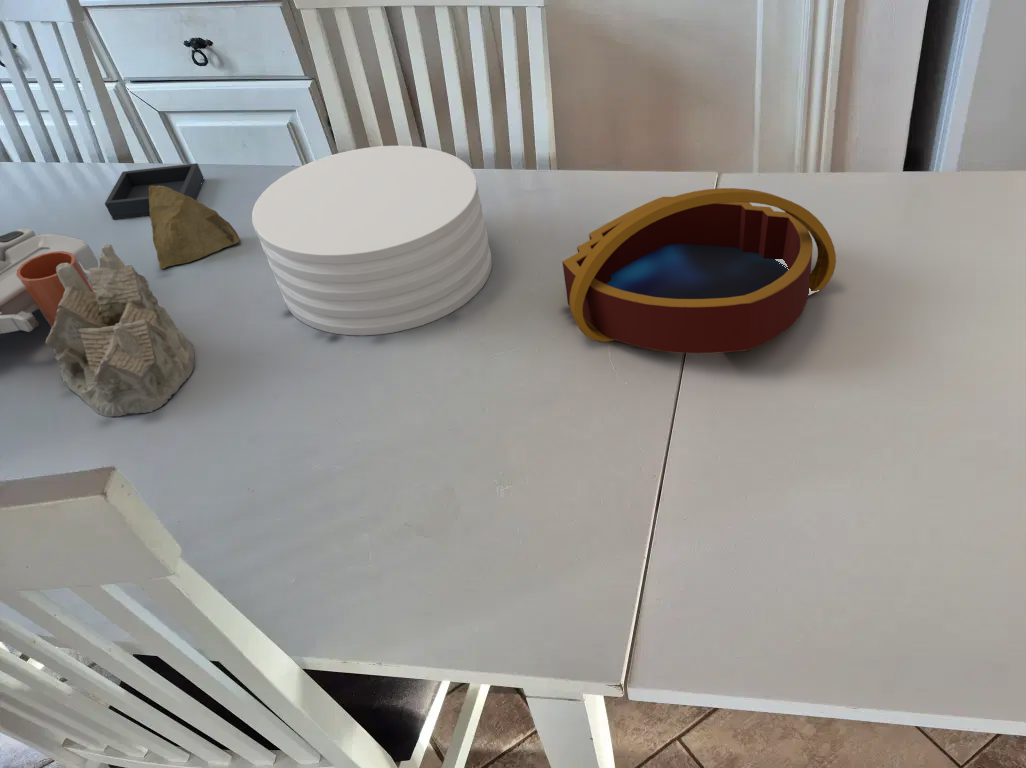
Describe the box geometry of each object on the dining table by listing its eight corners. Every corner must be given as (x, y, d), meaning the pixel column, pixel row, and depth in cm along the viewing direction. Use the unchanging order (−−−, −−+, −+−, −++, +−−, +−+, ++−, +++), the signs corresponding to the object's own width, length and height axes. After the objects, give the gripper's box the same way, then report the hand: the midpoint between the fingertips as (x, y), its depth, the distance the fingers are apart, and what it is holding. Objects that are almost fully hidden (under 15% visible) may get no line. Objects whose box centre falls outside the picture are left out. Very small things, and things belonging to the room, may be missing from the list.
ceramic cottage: (88, 335, 107) (22, 233, 95) (217, 336, 107) (165, 233, 95) (30, 424, 97) (-52, 321, 85) (172, 424, 97) (109, 322, 85)
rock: (247, 212, 123) (177, 206, 123) (222, 186, 115) (147, 179, 114) (238, 283, 122) (167, 277, 121) (213, 262, 113) (137, 255, 113)
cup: (53, 350, 105) (6, 282, 98) (74, 320, 110) (31, 252, 103) (104, 347, 105) (60, 278, 98) (123, 317, 110) (83, 249, 103)
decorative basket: (790, 246, 119) (792, 137, 110) (882, 338, 97) (895, 211, 87) (556, 289, 115) (538, 180, 106) (596, 397, 92) (577, 269, 83)
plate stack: (472, 206, 126) (457, 131, 118) (510, 307, 108) (495, 226, 99) (281, 243, 121) (251, 167, 113) (286, 356, 103) (251, 274, 94)
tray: (113, 219, 128) (104, 203, 126) (130, 187, 135) (122, 171, 133) (191, 210, 129) (183, 194, 127) (204, 179, 136) (197, 163, 134)
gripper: (-110, 306, 98) (-26, 328, 94) (33, 221, 111) (112, 237, 107) (-75, 349, 103) (7, 372, 99) (59, 263, 116) (136, 279, 112)
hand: (63, 301), depth 103 cm, fingers open, 8 cm apart
